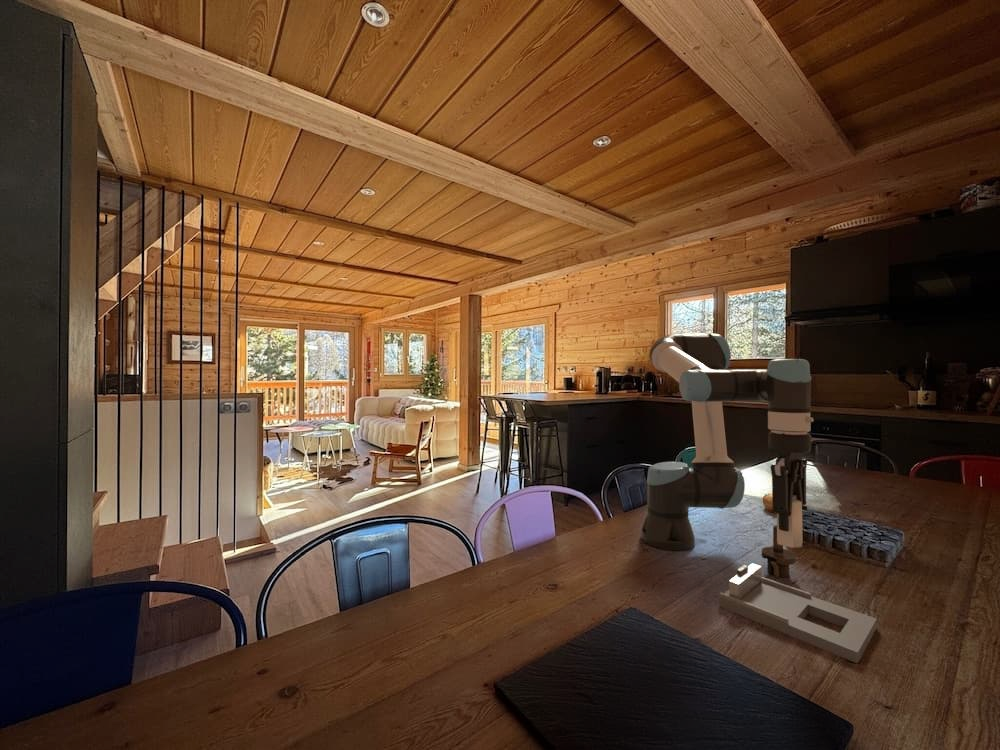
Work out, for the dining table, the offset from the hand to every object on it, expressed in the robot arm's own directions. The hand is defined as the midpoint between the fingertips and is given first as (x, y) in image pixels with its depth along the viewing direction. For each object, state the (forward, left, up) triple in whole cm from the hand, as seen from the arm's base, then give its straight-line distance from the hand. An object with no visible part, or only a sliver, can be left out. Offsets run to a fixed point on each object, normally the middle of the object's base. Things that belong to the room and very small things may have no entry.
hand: (790, 542), depth 91 cm
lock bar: (-9, 0, -13) cm, 16 cm away
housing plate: (+1, 0, -16) cm, 16 cm away
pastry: (-24, +74, -16) cm, 80 cm away
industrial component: (-9, +19, -16) cm, 26 cm away
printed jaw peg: (0, 0, 0) cm, 0 cm away
